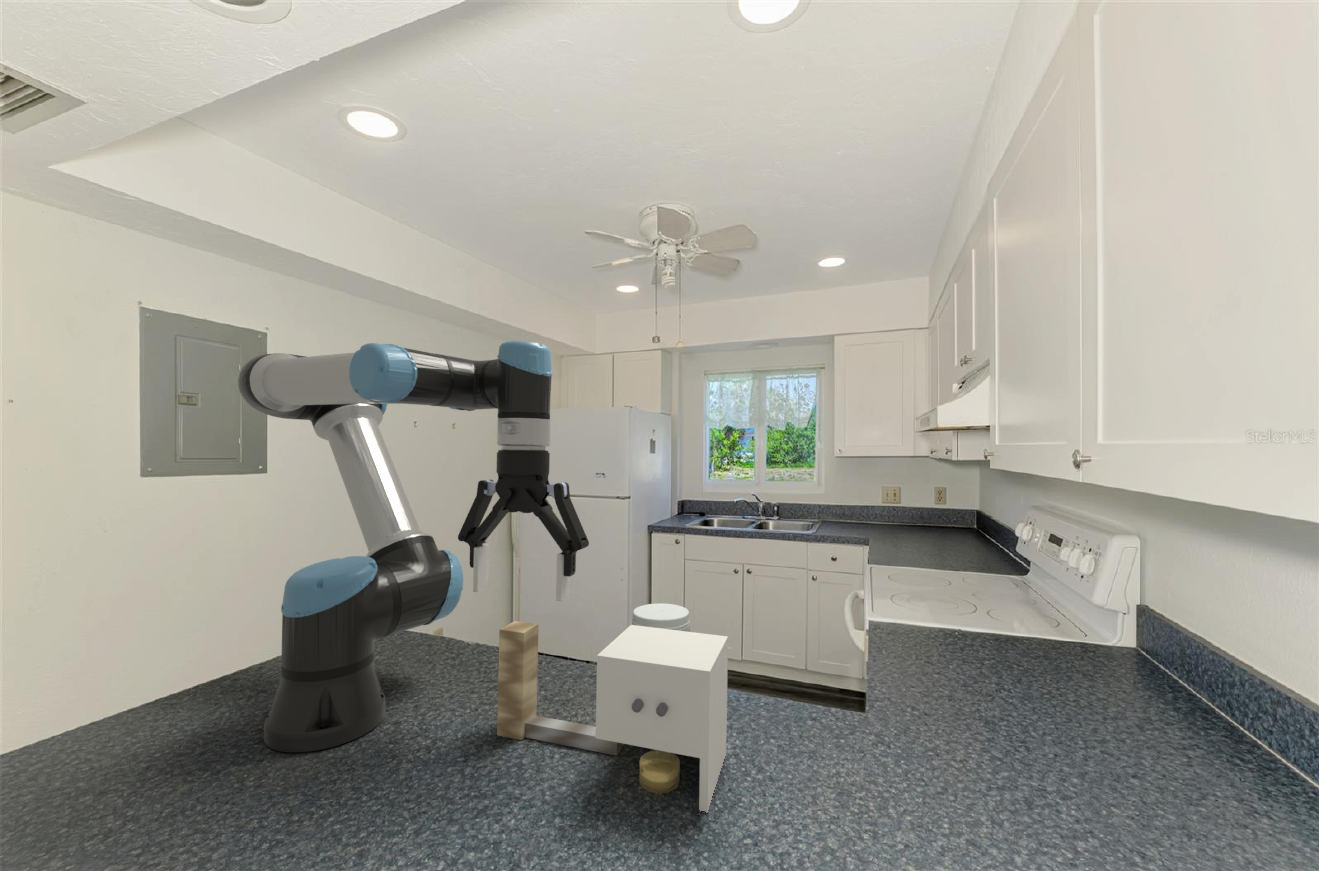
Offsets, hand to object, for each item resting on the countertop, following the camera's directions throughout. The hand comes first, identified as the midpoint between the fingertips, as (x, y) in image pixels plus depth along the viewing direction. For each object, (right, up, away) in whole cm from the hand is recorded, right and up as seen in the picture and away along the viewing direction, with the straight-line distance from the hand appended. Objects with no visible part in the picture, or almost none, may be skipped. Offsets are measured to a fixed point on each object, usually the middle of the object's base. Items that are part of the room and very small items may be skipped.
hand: (520, 594), depth 79 cm
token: (+20, -20, -11) cm, 31 cm away
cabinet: (+21, -20, -9) cm, 30 cm away
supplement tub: (+20, -21, +9) cm, 30 cm away
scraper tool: (+6, -20, -2) cm, 21 cm away
